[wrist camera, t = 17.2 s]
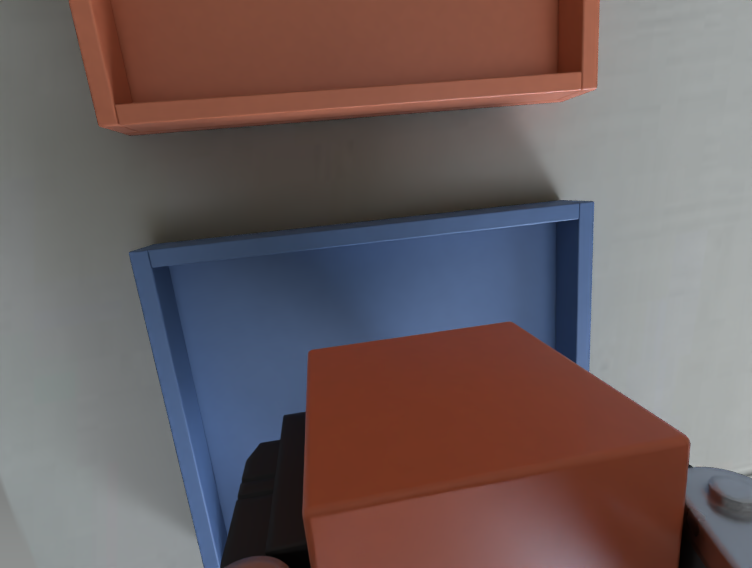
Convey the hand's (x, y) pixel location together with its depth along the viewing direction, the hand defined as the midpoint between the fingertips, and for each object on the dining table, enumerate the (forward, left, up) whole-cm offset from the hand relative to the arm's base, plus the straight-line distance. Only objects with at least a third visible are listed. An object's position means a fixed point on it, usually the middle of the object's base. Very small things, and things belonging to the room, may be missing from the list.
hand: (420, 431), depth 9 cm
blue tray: (0, -3, -8) cm, 8 cm away
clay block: (0, 0, 0) cm, 0 cm away
